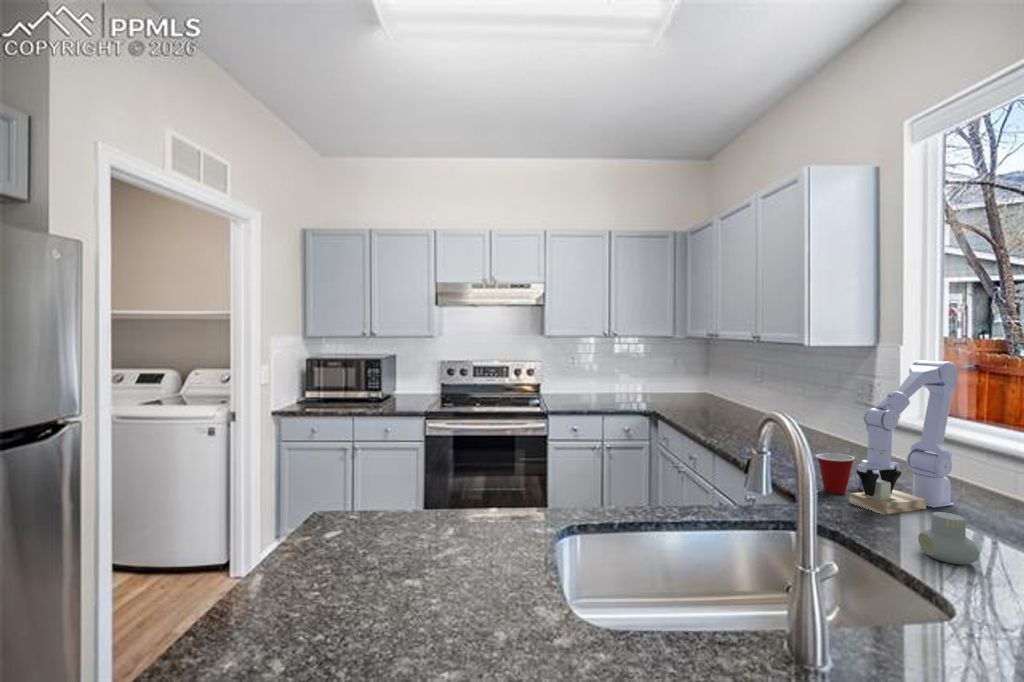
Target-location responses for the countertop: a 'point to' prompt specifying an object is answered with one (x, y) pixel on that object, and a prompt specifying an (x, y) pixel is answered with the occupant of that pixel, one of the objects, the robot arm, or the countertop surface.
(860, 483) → the pill bottle
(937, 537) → the air freshener
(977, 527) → the countertop surface
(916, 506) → the socket rail
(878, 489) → the square peg
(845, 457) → the plastic cup
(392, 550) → the countertop surface
